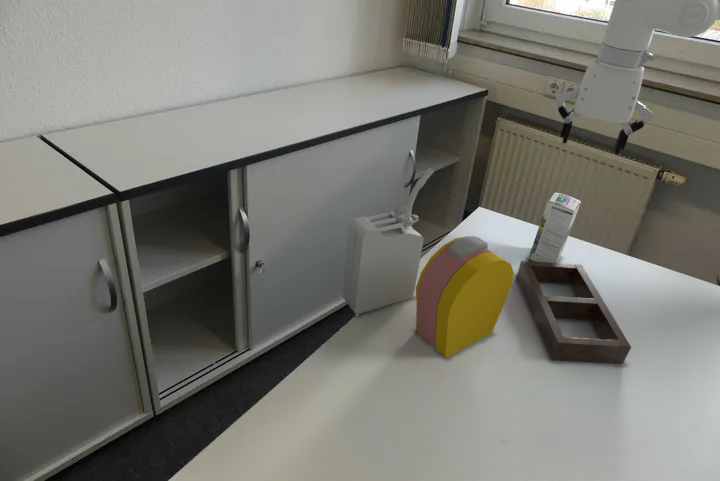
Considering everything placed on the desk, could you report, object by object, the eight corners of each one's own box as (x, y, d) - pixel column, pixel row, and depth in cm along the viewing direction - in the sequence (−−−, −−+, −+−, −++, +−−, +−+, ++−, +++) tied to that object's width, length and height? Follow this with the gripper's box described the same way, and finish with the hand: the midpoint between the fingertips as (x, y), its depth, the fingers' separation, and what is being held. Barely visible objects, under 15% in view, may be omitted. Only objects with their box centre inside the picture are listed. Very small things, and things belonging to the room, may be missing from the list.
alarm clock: (465, 304, 102) (486, 220, 92) (498, 329, 97) (524, 244, 87) (405, 331, 94) (421, 244, 84) (437, 361, 89) (458, 271, 79)
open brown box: (575, 280, 112) (581, 264, 110) (622, 364, 92) (631, 347, 90) (516, 276, 111) (521, 260, 109) (551, 360, 91) (558, 342, 89)
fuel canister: (410, 279, 107) (429, 164, 93) (424, 293, 103) (447, 176, 90) (341, 298, 100) (352, 177, 87) (354, 315, 97) (367, 191, 83)
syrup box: (535, 247, 121) (553, 190, 113) (561, 257, 118) (581, 199, 111) (527, 259, 117) (546, 200, 109) (554, 269, 114) (575, 210, 106)
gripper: (670, 60, 96) (635, 149, 106) (570, 44, 101) (545, 130, 110) (676, 70, 90) (638, 163, 100) (569, 52, 95) (543, 143, 104)
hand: (589, 146), depth 105 cm, fingers open, 9 cm apart
